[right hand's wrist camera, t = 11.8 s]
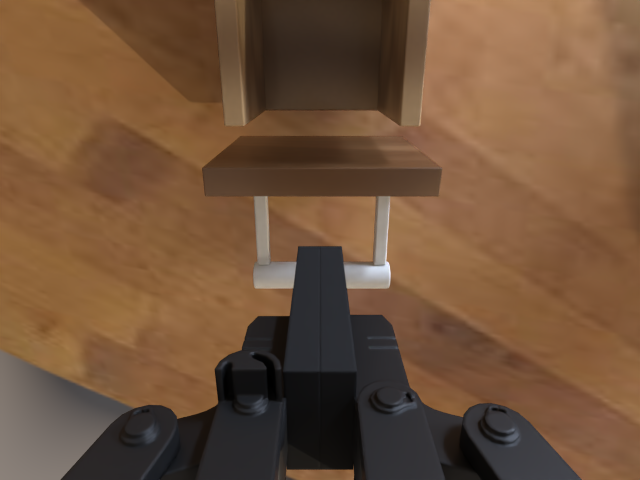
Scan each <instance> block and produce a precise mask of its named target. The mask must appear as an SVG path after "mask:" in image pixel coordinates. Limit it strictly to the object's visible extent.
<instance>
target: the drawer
mask: <svg viewBox="0 0 640 480" xmlns="http://www.w3.org/2000/svg"><path fill="white" fill-rule="evenodd" d="M214 3H215V15H216V27H217V40H218V52H219V64H220V77H221V89H222V101H223V113H224V125H225V126H245V125H246V124H247V123H249V122H250V121H251V120H253V119H254V118H256V117H257V116H258V115H260V114H261V113H262V112H264V111H265V110H378V111H380V112H381V113H382V114H384V115H385V116H387V117H388V118H390V119H391V120H393V121H394V122H395V123H397V124H398V125H400V126H420V121H421V109H422V97H423V86H424V74H425V62H426V51H427V39H428V28H429V16H430V4H431V0H214ZM202 171H203V181H204V191H205V196H254V211H255V227H256V244H257V260H258V262H255V264H254V270H253V282H254V287H255V288H293V286H294V278H295V270H296V262H270V260H271V256H270V235H269V214H268V196H376V207H375V227H374V246H373V262H344V270H345V278H346V286H347V288H389V285H390V266H389V263H388V262H386V254H387V238H388V222H389V207H390V196H439V194H440V185H441V175H442V168H441V167H440V166H439V165H438V164H436V163H435V162H434V161H433V160H431V159H430V158H429V157H428V156H426V155H425V154H424V153H423V152H421V151H420V150H419V149H418V148H416V147H415V146H414V145H413V144H411V143H410V142H409V141H408V140H406V139H405V138H404V137H403V136H240V137H239V138H238V139H237V140H235V141H234V142H233V143H232V144H231V145H229V146H228V147H227V148H226V149H225V150H223V151H222V152H221V153H220V154H219V155H217V156H216V157H215V158H214V159H213V160H211V161H210V162H209V163H208V164H207V165H205V166H204V167H203V168H202Z"/></svg>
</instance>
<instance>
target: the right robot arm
mask: <svg viewBox="0 0 640 480" xmlns="http://www.w3.org/2000/svg"><path fill="white" fill-rule="evenodd" d="M215 376H216V385H217V394H218V404H217V405H216V406H215V407H213V408H211V409H209V410H207V411H205V412H202V413H199V414H195V415H191V416H187V417H183V418H179V419H177V416H176V415H175V414H174V413H173V411H172V410H171V409H169V408H166V407H164V406H161V405H147V406H142V407H138V408H135V409H133V410H131V411H128V412H126V413H124V414H122V415H121V416H120V417H119V418H118V419H116V420H115V421H114V422H113V423H112V424H111V425H110V426H109V427H108V428H107V429H106V430H105V431H104V432H103V434H102V435H101V436H100V437H99V438H98V439H97V440H96V441H95V442H94V443H93V445H92V446H91V447H90V448H89V449H88V450H87V451H86V452H85V453H84V455H83V456H82V457H81V458H80V459H79V460H78V461H77V462H76V463H75V465H74V466H73V467H72V468H71V469H70V470H69V471H68V472H67V473H66V474H65V476H64V477H63V478H62V479H61V480H286V467H287V469H353V465H354V480H581V478H580V477H579V476H578V475H577V474H576V473H575V472H574V471H573V470H572V469H571V467H570V466H569V465H568V464H567V463H566V462H565V461H564V460H563V459H562V458H561V456H560V455H559V454H558V453H557V452H556V451H555V450H554V449H553V448H552V447H551V445H550V444H549V443H548V442H547V441H546V440H545V439H544V438H543V437H542V436H541V434H540V433H539V432H538V431H537V430H536V429H535V428H534V427H533V426H532V425H531V423H530V422H529V421H527V420H526V419H525V418H524V417H523V416H521V415H520V414H519V413H517V412H515V411H513V410H511V409H509V408H507V407H505V406H501V405H497V404H492V403H485V404H477V405H475V406H472V407H470V408H469V409H468V410H467V411H466V412H465V414H464V416H463V417H459V416H455V415H451V414H447V413H443V412H440V411H437V410H434V409H432V408H430V407H428V406H427V405H425V404H423V403H422V401H421V400H420V398H419V396H418V395H417V393H416V392H415V391H414V390H412V389H411V388H410V387H409V383H408V380H407V376H406V373H405V369H404V366H403V362H402V359H401V355H400V352H399V349H398V345H397V341H396V339H395V334H394V330H393V327H392V325H391V324H390V323H389V322H388V321H387V320H386V319H385V318H384V317H383V316H382V315H350V311H349V302H348V294H347V286H346V278H345V270H344V262H343V254H342V246H298V254H297V262H296V270H295V278H294V286H293V294H292V302H291V311H290V316H258V317H257V318H256V319H255V320H254V321H253V322H252V323H251V324H250V325H249V326H248V329H247V332H246V336H245V341H244V343H243V346H242V350H241V351H238V352H235V353H232V354H230V355H228V356H227V357H225V358H224V359H222V360H221V361H220V362H219V364H218V365H217V367H216V368H215Z"/></svg>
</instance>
